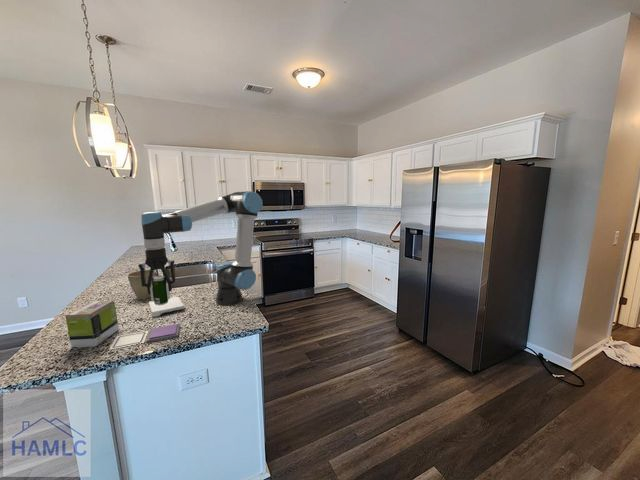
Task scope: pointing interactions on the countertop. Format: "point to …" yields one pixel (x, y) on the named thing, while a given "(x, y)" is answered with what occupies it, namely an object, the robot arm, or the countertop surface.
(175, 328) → the ink pad
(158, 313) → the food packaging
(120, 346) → the print sheet
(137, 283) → the plant pot
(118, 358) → the countertop surface
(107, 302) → the tea box
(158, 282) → the beer can
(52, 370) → the countertop surface
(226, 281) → the robot arm
